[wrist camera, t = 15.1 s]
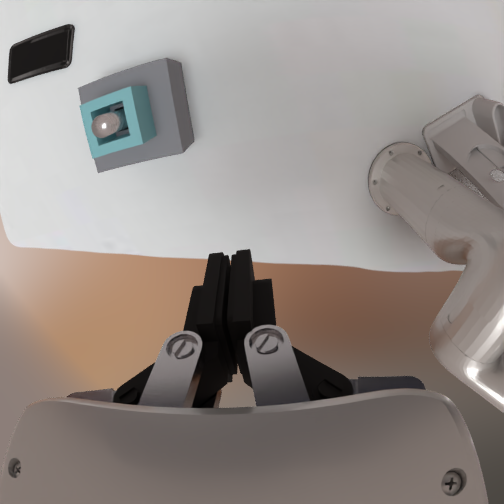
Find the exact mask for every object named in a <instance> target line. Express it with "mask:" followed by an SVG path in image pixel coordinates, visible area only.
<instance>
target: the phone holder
mask: <svg viewBox="0 0 504 504" xmlns="http://www.w3.org/2000/svg"><path fill="white" fill-rule="evenodd" d="M422 135H423V138H424V140H425V143H426V145H427V148H428V150H429V153H430V156H431V158H432V161H433V164H434V166H435V167H437V168H438V169H440V170H442V171H443V172H445V173H451V172H452V171H453V170H455V169H456V168H458V169H459V170H460V171H461V172H462V173H463V174H464V175H465V176H466V177H467V178H468V179H469V180H470V181H471V182H472V183H473V184H474V185H475V186H476V187H477V188H478V190H479V191H480V192H481V193H482V194H483V195H484V196H485V197H486V198H487V199H488V200H489V202H491V203H492V204H494V205H496V206H497V207H499V208H501V209H502V210H504V181H501V182H497V181H495V180H493V179H492V177H491V176H490V172H491V171H492V170H495V169H497V170H500V171H502V172H503V173H504V105H503V104H502V103H500V102H496V101H493V100H489V99H485V98H484V97H483V96H481V95H476V96H474V97H473V98H471V99H469V100H468V101H466V102H464V103H462V104H461V105H459V106H457V107H456V108H454V109H452V110H451V111H449V112H447V113H446V114H444V115H442V116H441V117H439V118H438V119H436V120H434V121H433V122H431V123H429V124H428V125H426V126H425V127H424V128H423V131H422Z"/></svg>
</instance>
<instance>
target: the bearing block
mask: <svg viewBox="0 0 504 504" xmlns="http://www.w3.org/2000/svg"><path fill="white" fill-rule="evenodd" d="M130 86H147V91H148V96H149V101H150V106H151V111H152V116H153V120H154V125H155V130H156V134H157V136H155V137H153V138H152V139H150V140H149V141H147V142H145V143H144V144H141V145H137V146H134V147H130V148H126V149H123V150H119V151H116V152H113V153H109V154H106V155H103V156H100V157H97V158H94V160H95V164H96V167H97V171H98V173H100V172H104V171H107V170H111V169H115V168H119V167H123V166H127V165H131V164H135V163H139V162H143V161H148V160H152V159H157V158H162V157H166V156H171V155H176V154H181V153H184V152H185V151H186V149H187V148H188V147H189V146H190V145H191V144H192V143H193V142H194V136H193V131H192V125H191V119H190V114H189V108H188V102H187V97H186V91H185V85H184V79H183V73H182V66H181V63H180V62H177V61H174V60H171V59H168V58H164V59H160V60H156V61H153V62H149V63H146V64H142V65H139V66H136V67H133V68H130V69H127V70H124V71H121V72H118V73H115V74H112V75H110V76H107V77H104V78H102V79H99V80H96V81H94V82H92V83H89V84H87V85H84V86H82V87H80V88H78V89H79V95H80V100H81V105H82V104H85V103H87V102H89V101H92V100H94V99H97V98H99V97H102V96H105V95H107V94H110V93H113V92H115V91H118V90H121V89H124V88H127V87H130ZM120 109H124V106H123V103H120V104H117V105H114V106H112V107H110V110H111V112H113V111H116V110H120ZM128 133H129V128H128V127H127V128H125V129H122V130H120V131H118V132H116V136H117V137H118V136H121V135H124V134H128Z"/></svg>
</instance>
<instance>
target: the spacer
mask: <svg viewBox="0 0 504 504" xmlns="http://www.w3.org/2000/svg"><path fill="white" fill-rule="evenodd" d="M120 103H123V106H124V111H125V115H126V120H127V124H128V128H129V133H128V134H124V135H121V136H118V137H117V136H116V132H115V133H113V134H111V135H109V136H107V137H104V138H98V137H96V136H95V135H94V134H93V132H92V129H91V125H92V122H93V120H94V119H95V118H96V117H97V116H99V115H102V114H106V113H109V112H111V110H110V107H112V106H114V105H117V104H120ZM80 110H81V115H82V119H83V123H84V128H85V132H86V136H87V140H88V143H89V147H90V151H91V154H92V158H93V159H94V158H97V157H100V156H103V155H106V154H109V153H113V152H116V151H119V150H123V149H126V148H130V147H134V146H137V145H141V144H144V143H145V142H147V141H149V140H150V139H152V138H153V137H155V136H157V134H156V130H155V125H154V120H153V116H152V111H151V106H150V101H149V96H148V91H147V86H130V87H127V88H124V89H121V90H118V91H115V92H113V93H110V94H107V95H105V96H102V97H99V98H97V99H94V100H92V101H89V102H87V103H85V104H82V105H80Z"/></svg>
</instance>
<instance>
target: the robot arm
mask: <svg viewBox="0 0 504 504" xmlns="http://www.w3.org/2000/svg"><path fill="white" fill-rule="evenodd" d="M389 151H390V153H389ZM373 181H374V182H373ZM368 183H369V191H370V194H371V197H372V198H373V200H374V202H375V203H376V204H377V206H378V207H379V208H381V209H382V210H383V211H384V212H386V213H389V214H392V215H400V216H401V217H402V218H403V219H404V220H405V221H406V222H407V223H408V224H409V225H410V226H411V227H412V229H413V230H414V231H415V232H416V233H417V234H418V235H419V236H420V237H421V238H422V240H423V241H424V242H425V243H426V244H427V245H428V246H429V247H430V249H431V250H432V251H433V252H434V253H435V254H436V255H437V256H438V257H439V258H440V259H442V260H443V261H446V262H448V263H451V264H457V265H465V264H466V267H465V269H464V271H463V273H462V275H461V277H460V279H459V281H458V283H457V285H456V286H455V288H454V290H453V291H452V293H451V295H450V296H449V298H448V300H447V301H446V302H445V304H444V306H443V307H442V309H441V310H440V312H439V313H438V315H437V317H436V318H435V320H434V322H433V324H432V326H431V329H430V334H429V342H430V346H431V349H432V351H433V353H434V355H435V356H436V358H437V359H438V361H439V362H440V363H441V364H442V365H443V366H444V367H445V368H446V369H447V370H448V371H449V372H451V373H452V374H453V375H454V376H455V377H457V378H458V379H459V380H461V381H462V382H463V383H465V384H466V385H467V386H469V387H470V388H471V389H473V390H474V391H475V392H477V393H478V394H479V395H481V396H482V397H483V398H485V399H486V400H487V401H489V402H490V403H491V404H493V405H494V406H495V407H497V408H498V409H499V410H501V411H502V412H503V413H504V210H502V209H501V208H499V207H497V206H496V205H494V204H492V203H491V202H489V201H488V200H486V199H485V198H483V197H482V196H480V195H479V194H477V193H476V192H474V191H473V190H471V189H470V188H468V187H467V186H465V185H464V184H462V183H461V182H459V181H458V180H456V179H455V178H453V177H451V176H450V175H449V173H445V172H443V171H442V170H440V169H438V168H437V167H435V166H433V165H432V163H431V160H430V158H429V157H428V155H427V154H426V153H425V152H424V151H423V150H422V149H421V148H419V147H418V146H416V145H413V144H410V143H396V144H393V145H390V146H388V147H387V148H385V149H384V150H383V151H382V152H381V153H380V154H379V155H378V156H377V157H376V159H375V160H374V162H373V164H372V167H371V169H370V173H369V182H368ZM237 364H238V365H237ZM237 366H239V369H240V373H241V374H242V375H243V379H244V382H245V383H246V384H247V385H248V386H250V387H251V388H252V389H253V392H254V397H255V401H256V407H239V408H219V403H220V399H221V394H222V390H221V388H223V387H224V386H225V385H226V384H227V382H232V375H233V374H237ZM0 504H488V498H487V493H486V489H485V483H484V479H483V475H482V471H481V467H480V463H479V459H478V456H477V453H476V450H475V447H474V444H473V441H472V438H471V435H470V433H469V431H468V428H467V426H466V423H465V421H464V419H463V417H462V415H461V414H460V412H459V410H458V408H457V407H456V406H455V405H454V403H453V402H452V401H451V400H450V399H449V398H448V397H446V396H445V395H443V394H440V393H437V392H433V391H430V390H426V389H425V386H424V384H423V383H422V381H421V380H419V379H418V378H416V377H413V376H391V377H358V379H348V378H346V377H345V376H344V375H342V374H341V373H339V372H337V371H335V370H333V369H331V368H330V367H328V366H326V365H324V364H322V363H321V362H319V361H317V360H315V359H313V358H312V357H310V356H308V355H306V354H305V353H303V352H301V351H299V350H298V349H296V348H294V347H293V346H291V343H290V340H289V337H288V335H287V333H286V332H285V331H284V330H283V329H282V328H280V327H277V326H276V318H275V309H274V299H273V289H272V279H263V280H255V278H254V272H253V265H252V258H251V252H250V249H248V250H239V251H237V252H236V254H234V255H232V259H231V265H230V260H229V256H228V255H225V256H224V254H223V252H221V253H212V254H209V258H208V263H207V268H206V273H205V278H204V283H203V285H202V286H194V287H193V290H192V294H191V298H190V303H189V308H188V312H187V316H186V321H185V325H184V330H183V331H181V332H177V333H175V334H173V335H171V336H170V337H169V338H167V339H166V341H165V342H164V344H163V346H162V348H161V350H160V353H159V355H158V358H157V360H156V362H155V363H153V364H152V365H150V366H149V367H148V368H146V369H145V370H143V371H142V372H140V373H139V374H137V375H136V376H135V377H133V378H132V379H130V380H129V381H127V382H126V383H124V384H123V385H122V386H120V387H119V388H118V389H117V391H115V390H113V389H112V388H111V389H103V390H95V391H86V392H76V393H72V394H70V395H69V396H67V397H56V398H48V399H43V400H39V401H36V402H34V403H32V404H30V405H29V406H27V407H26V409H25V410H24V411H23V413H22V414H21V416H20V418H19V420H18V422H17V424H16V427H15V429H14V431H13V434H12V437H11V440H10V442H9V446H8V449H7V452H6V456H5V459H4V463H3V467H2V471H1V476H0Z"/></svg>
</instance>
